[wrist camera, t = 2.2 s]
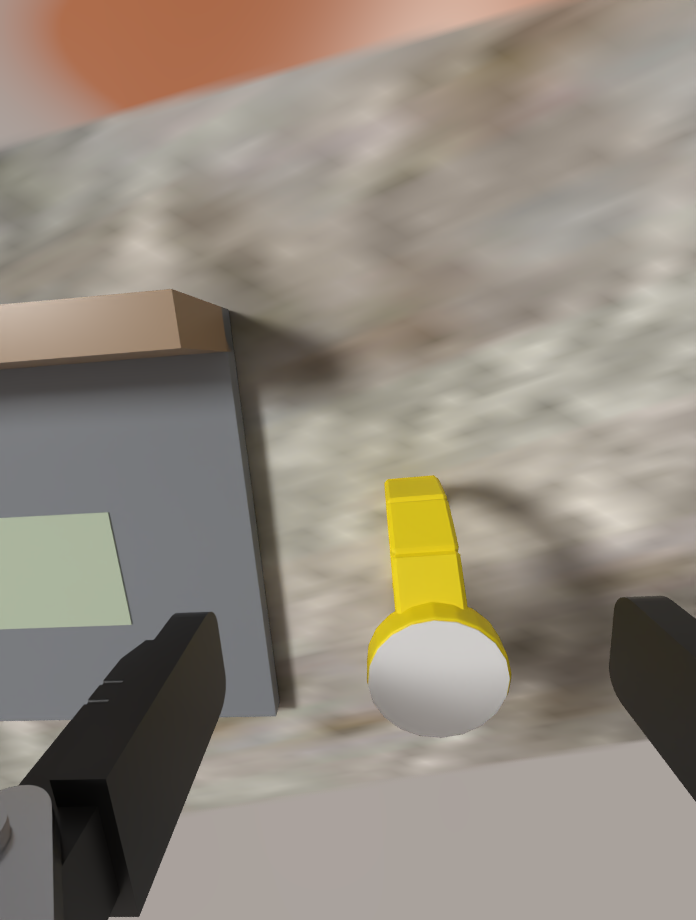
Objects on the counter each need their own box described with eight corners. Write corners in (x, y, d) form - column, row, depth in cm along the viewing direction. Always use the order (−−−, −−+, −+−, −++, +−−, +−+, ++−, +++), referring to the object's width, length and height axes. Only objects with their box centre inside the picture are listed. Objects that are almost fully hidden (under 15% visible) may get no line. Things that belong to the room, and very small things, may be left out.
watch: (456, 617, 15) (512, 800, 9) (376, 621, 15) (380, 803, 9) (450, 450, 13) (514, 546, 7) (359, 458, 13) (352, 557, 7)
